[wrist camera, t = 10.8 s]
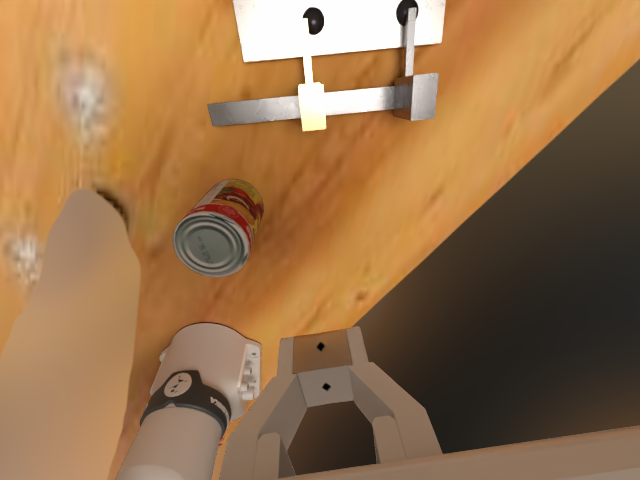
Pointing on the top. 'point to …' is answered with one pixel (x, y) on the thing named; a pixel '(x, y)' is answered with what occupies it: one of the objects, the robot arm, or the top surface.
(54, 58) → the top surface
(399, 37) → the bolt plate
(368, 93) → the rail
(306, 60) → the sliding leg
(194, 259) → the canned food
